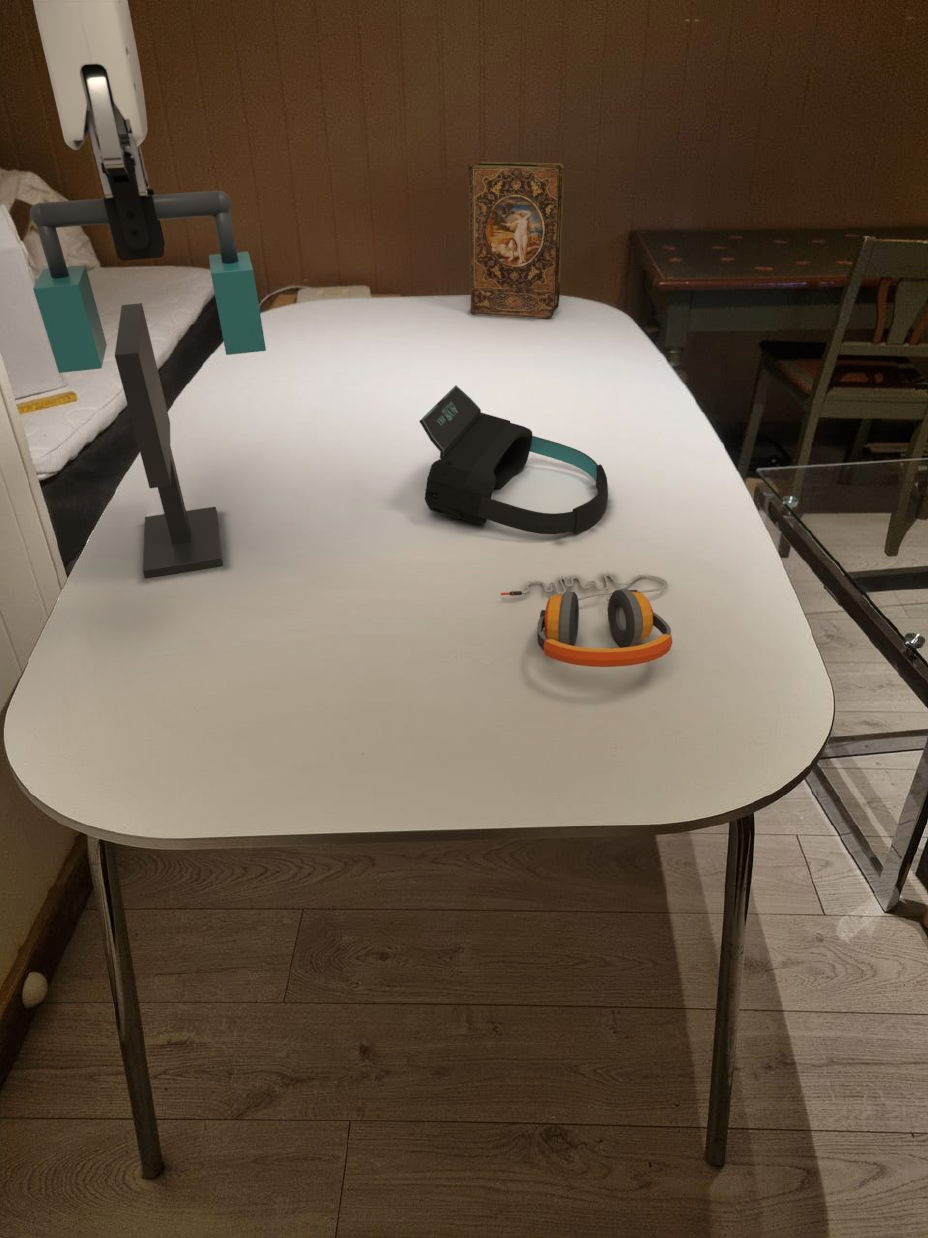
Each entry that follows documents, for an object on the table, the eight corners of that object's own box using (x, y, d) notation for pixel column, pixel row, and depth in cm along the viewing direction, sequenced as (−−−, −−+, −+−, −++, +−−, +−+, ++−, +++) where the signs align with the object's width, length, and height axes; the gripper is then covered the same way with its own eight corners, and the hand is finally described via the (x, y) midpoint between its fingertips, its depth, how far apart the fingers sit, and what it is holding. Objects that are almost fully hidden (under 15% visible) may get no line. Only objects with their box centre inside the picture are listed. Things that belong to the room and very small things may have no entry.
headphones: (661, 548, 87) (721, 625, 69) (658, 596, 89) (716, 684, 71) (497, 555, 87) (513, 634, 69) (498, 603, 89) (514, 693, 71)
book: (467, 314, 162) (465, 166, 147) (475, 305, 166) (473, 161, 151) (553, 319, 158) (559, 168, 143) (558, 310, 162) (565, 163, 148)
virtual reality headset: (454, 446, 112) (465, 373, 105) (615, 494, 108) (636, 422, 101) (397, 511, 97) (406, 431, 91) (581, 570, 93) (602, 490, 87)
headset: (58, 373, 62) (9, 212, 56) (66, 348, 67) (21, 197, 61) (266, 350, 65) (241, 195, 59) (260, 329, 70) (237, 182, 63)
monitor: (144, 588, 88) (78, 359, 74) (147, 516, 101) (90, 307, 87) (223, 575, 90) (173, 348, 76) (216, 505, 102) (172, 299, 88)
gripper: (20, -63, 57) (96, 235, 67) (-24, -81, 44) (78, 287, 55) (138, -64, 58) (194, 227, 69) (127, -82, 46) (197, 276, 57)
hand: (142, 252), depth 62 cm, fingers closed on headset
